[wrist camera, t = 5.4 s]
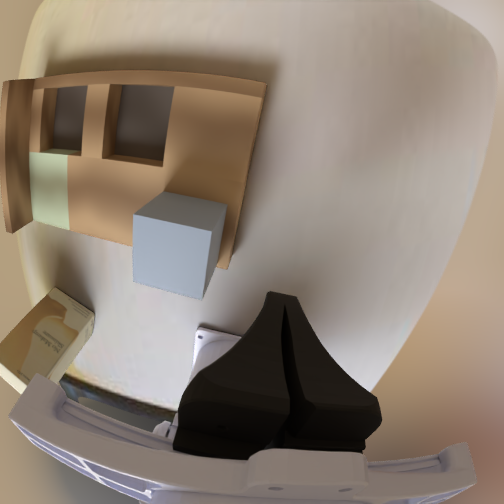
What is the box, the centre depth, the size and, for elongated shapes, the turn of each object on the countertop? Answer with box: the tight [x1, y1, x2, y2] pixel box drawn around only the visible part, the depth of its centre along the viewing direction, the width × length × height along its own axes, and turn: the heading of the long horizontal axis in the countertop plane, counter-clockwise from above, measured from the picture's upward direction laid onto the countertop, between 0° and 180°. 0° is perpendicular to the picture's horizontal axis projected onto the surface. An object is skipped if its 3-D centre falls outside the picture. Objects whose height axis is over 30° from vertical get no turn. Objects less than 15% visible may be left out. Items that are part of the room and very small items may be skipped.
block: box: [133, 191, 228, 300], centre depth 18 cm, size 4×4×4 cm
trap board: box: [0, 70, 267, 269], centre depth 17 cm, size 13×20×5 cm, turn 79°
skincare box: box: [0, 287, 95, 394], centre depth 23 cm, size 6×4×12 cm
